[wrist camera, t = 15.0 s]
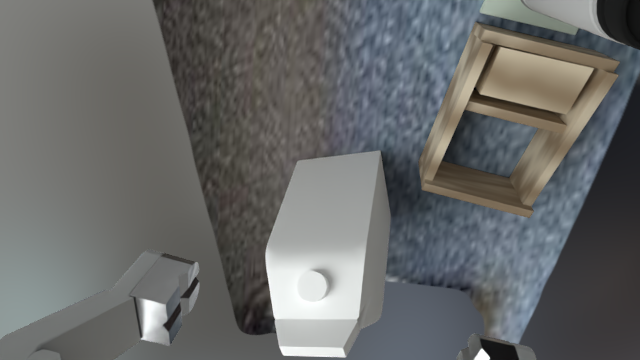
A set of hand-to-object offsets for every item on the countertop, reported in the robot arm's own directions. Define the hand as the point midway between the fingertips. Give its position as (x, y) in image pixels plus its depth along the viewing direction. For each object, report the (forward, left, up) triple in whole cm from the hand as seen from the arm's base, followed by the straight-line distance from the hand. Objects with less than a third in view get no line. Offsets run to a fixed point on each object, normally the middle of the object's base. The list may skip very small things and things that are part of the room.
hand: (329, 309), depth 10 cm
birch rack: (+4, +16, -37) cm, 41 cm away
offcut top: (-1, +16, -34) cm, 37 cm away
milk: (+21, +1, -37) cm, 43 cm away
